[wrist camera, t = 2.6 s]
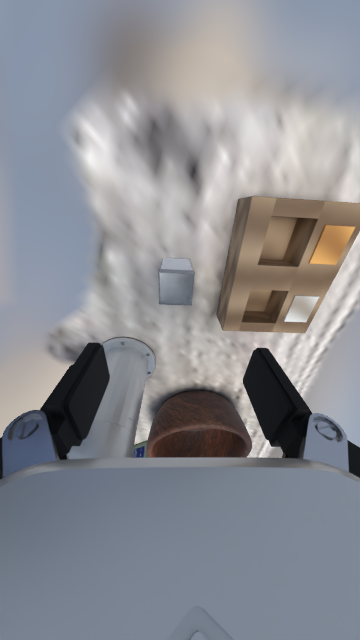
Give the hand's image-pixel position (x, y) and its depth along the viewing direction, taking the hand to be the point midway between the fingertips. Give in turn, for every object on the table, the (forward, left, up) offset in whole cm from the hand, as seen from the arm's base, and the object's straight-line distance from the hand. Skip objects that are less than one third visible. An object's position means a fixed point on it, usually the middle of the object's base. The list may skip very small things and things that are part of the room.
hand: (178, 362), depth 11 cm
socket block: (+1, -15, -20) cm, 25 cm away
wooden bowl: (-40, -7, -21) cm, 45 cm away
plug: (0, 0, -20) cm, 20 cm away
